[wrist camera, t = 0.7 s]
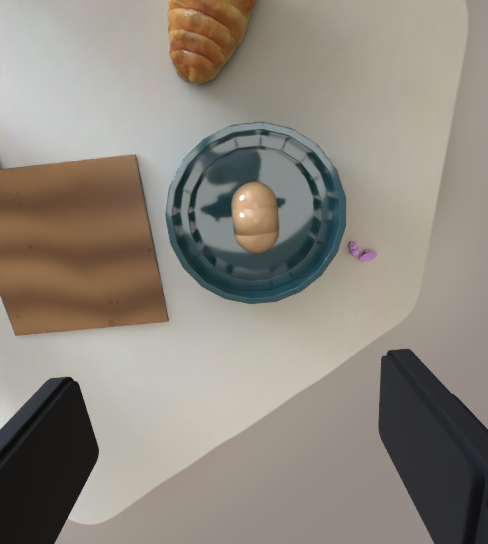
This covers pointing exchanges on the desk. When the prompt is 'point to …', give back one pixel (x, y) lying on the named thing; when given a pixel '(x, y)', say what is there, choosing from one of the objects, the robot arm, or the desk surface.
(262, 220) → the beige ridged oval
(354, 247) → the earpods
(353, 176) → the desk surface
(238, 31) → the pastry
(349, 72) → the desk surface
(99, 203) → the wooden board
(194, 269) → the bowl
